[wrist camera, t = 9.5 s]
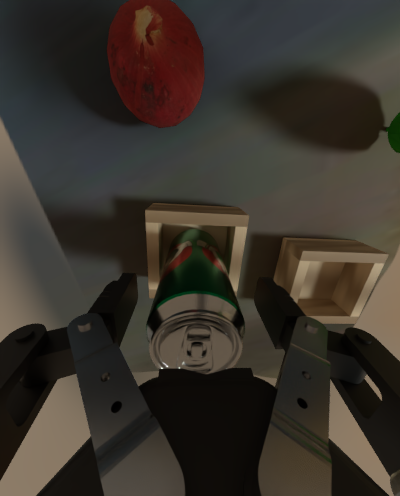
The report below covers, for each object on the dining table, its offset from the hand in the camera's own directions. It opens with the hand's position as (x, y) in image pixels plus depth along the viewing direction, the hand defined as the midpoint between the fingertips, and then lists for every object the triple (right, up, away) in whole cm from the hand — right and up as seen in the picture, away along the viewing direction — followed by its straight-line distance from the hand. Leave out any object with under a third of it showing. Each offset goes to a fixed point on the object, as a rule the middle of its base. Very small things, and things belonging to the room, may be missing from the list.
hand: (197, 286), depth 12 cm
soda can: (-1, +2, +8) cm, 8 cm away
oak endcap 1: (0, +3, +8) cm, 9 cm away
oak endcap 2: (+13, 0, +10) cm, 17 cm away
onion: (-3, +15, +3) cm, 16 cm away
